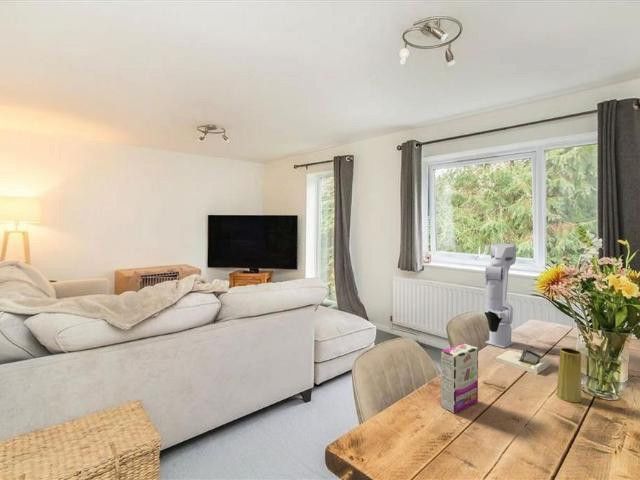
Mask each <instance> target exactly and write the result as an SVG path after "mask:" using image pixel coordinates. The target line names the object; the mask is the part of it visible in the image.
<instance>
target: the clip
mask: <svg viewBox="0 0 640 480" xmlns="http://www.w3.org/2000/svg"><path fill="white" fill-rule="evenodd" d="M521 353H522V355H521V358H520V360H521V361H522V362H524V363H527V364H530V365H534V366H535V365H537V364H538V363H539V361H540V359H542V354H539V353H538V352H536V351H533V350H532V349H531V348H530V347H526V348H525V349H523V351H522V352H521Z"/></svg>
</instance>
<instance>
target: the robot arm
mask: <svg viewBox="0 0 640 480" xmlns="http://www.w3.org/2000/svg"><path fill="white" fill-rule="evenodd" d="M489 252H490V257H491V260H490V262H489V264H488V267H485V269H484V276H485V277H484V278H485V285H486V291H485V293H486V294H485V295H486V296H485V303H484V304H483V308H484V310H486V311H485V312H484V315H485V319H486V321H487V323H488V328H489V336H488V337H489V339H488V340H486V341H485V344H488V345H491V346H496V347H499V348H503V349H504V348H506V347H509V346H511V345H513V344H514V341H512V332H513V329H512V327H511V324H513V319H514V318H513V317H514V316H513V315H514V313H513V312H514V311H513V310H514V309H513V306H512V304H511V303H509V302H508V301H507V295H508V294H507V293H508V281H509V271H510V268H511V266H512V265H515V263H516V260H517V245H516V243H494V242H493V243H491V245H490V249H489Z"/></svg>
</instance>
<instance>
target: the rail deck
mask: <svg viewBox="0 0 640 480" xmlns="http://www.w3.org/2000/svg"><path fill="white" fill-rule="evenodd" d="M522 353H523V352H517V351H514V350H511V349H510V350H507V351H505V352H503V353H501V354H499V355H497V356H496V357H495V362H497V363H500V364H504V365H506V366H510V367H512V368H516V369H519V370H522V371H526V372H529V373H531V374H535V375H538V374H540V373H541V372H543V371H544V370H545V369H547V368H548V367H550V366H551V358H549V357H546V358H544V359H543V358H541V359H540V361H539V363H538V364H537V365H535V366H534V365H530V364H527V363H524V362H522V361H521V360H520V358H521V355H522Z"/></svg>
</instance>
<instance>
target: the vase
mask: <svg viewBox="0 0 640 480" xmlns="http://www.w3.org/2000/svg"><path fill="white" fill-rule="evenodd" d="M558 365H559V366H558V370H557V373H558V374H557V381H556V382H557V384H556V385H557V387H556V396H557V398H560V399H561V400H562V401H566V402H570V403H580V402H581V401H582V352H581V351H580V350H578V349H575V348H572V347H571V348H570V347H561V348H560V349H559V364H558Z"/></svg>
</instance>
